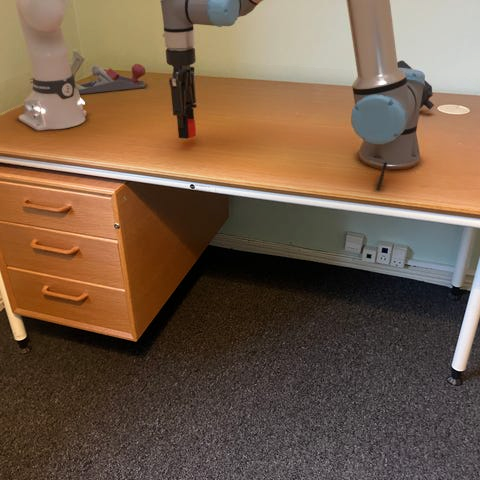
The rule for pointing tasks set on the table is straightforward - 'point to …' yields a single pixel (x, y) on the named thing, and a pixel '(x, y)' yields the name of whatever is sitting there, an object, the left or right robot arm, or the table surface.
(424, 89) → the tool
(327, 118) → the table surface
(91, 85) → the hand plane
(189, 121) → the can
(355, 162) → the table surface
